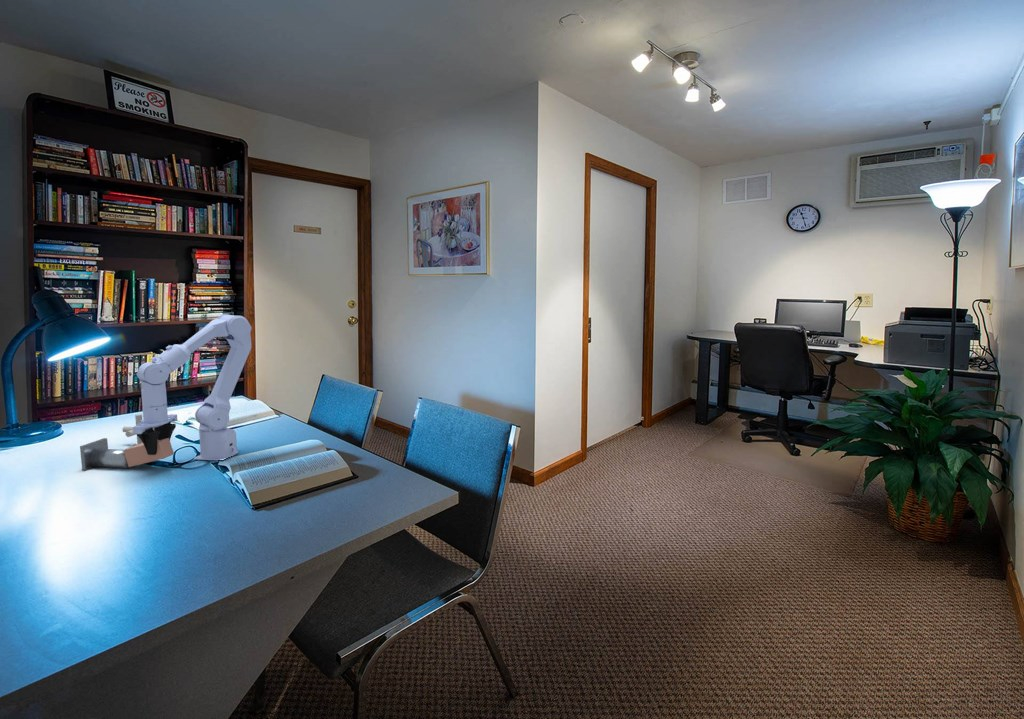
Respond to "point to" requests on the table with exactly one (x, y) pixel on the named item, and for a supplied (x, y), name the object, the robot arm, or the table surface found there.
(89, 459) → the grey cylinder with plate
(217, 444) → the robot arm
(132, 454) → the tan piece
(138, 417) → the pipe connector
